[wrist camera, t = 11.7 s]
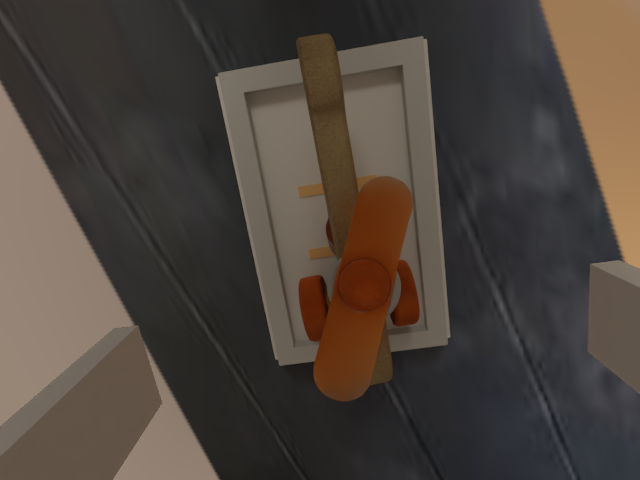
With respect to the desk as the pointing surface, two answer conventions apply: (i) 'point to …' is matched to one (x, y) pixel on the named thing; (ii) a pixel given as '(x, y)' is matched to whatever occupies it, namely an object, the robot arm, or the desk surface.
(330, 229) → the toy helicopter
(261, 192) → the plate
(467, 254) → the desk surface
